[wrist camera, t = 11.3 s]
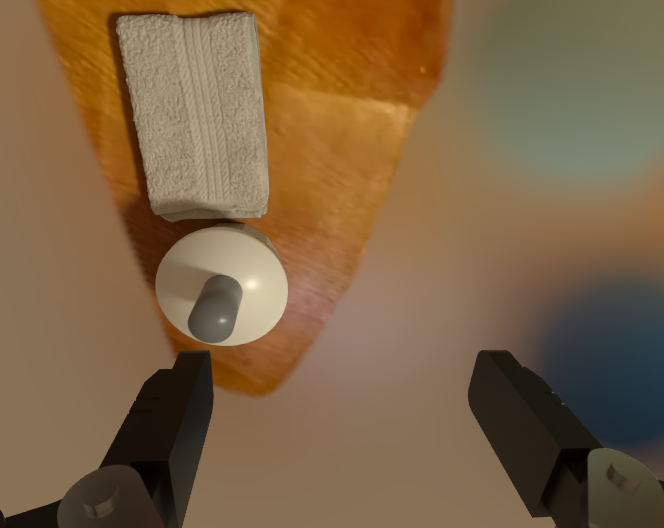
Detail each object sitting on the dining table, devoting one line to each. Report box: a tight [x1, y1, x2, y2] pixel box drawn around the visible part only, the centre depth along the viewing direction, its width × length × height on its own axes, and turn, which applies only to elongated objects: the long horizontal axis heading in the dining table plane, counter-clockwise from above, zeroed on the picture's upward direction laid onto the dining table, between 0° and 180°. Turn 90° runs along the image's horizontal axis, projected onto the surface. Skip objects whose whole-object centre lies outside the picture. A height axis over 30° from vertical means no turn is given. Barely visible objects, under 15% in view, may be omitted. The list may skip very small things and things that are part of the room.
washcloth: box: [116, 12, 269, 223], centre depth 35 cm, size 12×18×3 cm, turn 1°
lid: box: [155, 227, 288, 346], centre depth 33 cm, size 12×12×7 cm
